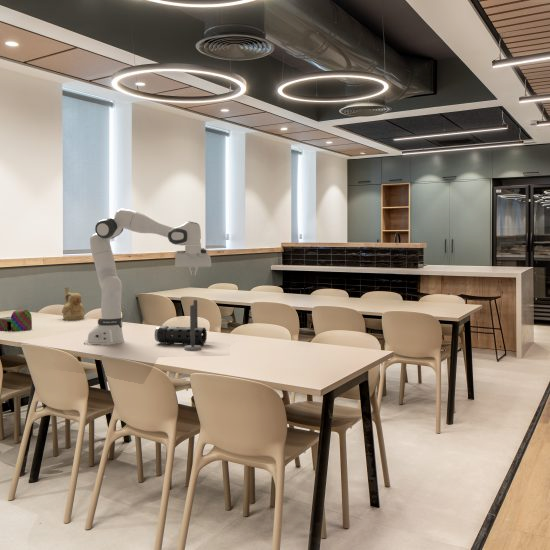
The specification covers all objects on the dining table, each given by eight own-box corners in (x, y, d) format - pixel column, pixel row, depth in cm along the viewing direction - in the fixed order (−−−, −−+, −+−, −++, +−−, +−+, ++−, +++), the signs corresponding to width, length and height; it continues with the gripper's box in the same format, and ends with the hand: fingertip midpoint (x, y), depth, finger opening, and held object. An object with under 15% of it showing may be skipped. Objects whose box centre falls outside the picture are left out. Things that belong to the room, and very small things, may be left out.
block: (37, 329, 384) (37, 308, 384) (18, 332, 369) (18, 311, 368) (9, 327, 393) (8, 307, 392) (-11, 330, 377) (-12, 309, 376)
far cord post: (187, 341, 330) (186, 300, 329) (188, 338, 339) (188, 299, 338) (203, 341, 331) (202, 300, 330) (203, 338, 340) (203, 298, 339)
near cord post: (183, 350, 300) (183, 306, 299) (184, 347, 309) (184, 304, 308) (200, 350, 301) (200, 305, 300) (201, 347, 310) (201, 304, 309)
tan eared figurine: (69, 323, 411) (68, 289, 410) (56, 321, 425) (55, 287, 423) (90, 320, 424) (89, 287, 423) (77, 318, 437) (76, 286, 436)
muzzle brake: (201, 347, 313) (201, 328, 312) (154, 345, 318) (153, 327, 318) (207, 344, 322) (206, 326, 321) (160, 342, 328) (160, 324, 327)
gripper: (173, 250, 313) (174, 275, 314) (211, 250, 315) (211, 275, 316) (174, 250, 320) (175, 275, 320) (211, 250, 322) (211, 274, 322)
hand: (193, 275), depth 318 cm, fingers closed
